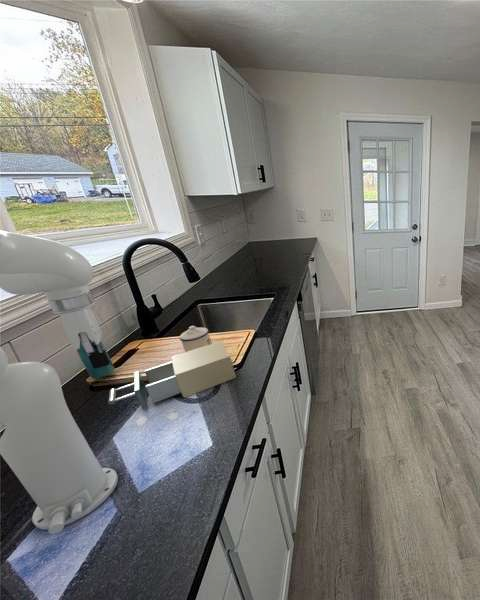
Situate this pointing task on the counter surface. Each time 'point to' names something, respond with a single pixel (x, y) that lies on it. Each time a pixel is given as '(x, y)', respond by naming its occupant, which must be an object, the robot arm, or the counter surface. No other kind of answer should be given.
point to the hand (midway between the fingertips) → (102, 365)
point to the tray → (151, 385)
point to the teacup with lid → (195, 338)
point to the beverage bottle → (91, 371)
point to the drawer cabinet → (202, 368)
